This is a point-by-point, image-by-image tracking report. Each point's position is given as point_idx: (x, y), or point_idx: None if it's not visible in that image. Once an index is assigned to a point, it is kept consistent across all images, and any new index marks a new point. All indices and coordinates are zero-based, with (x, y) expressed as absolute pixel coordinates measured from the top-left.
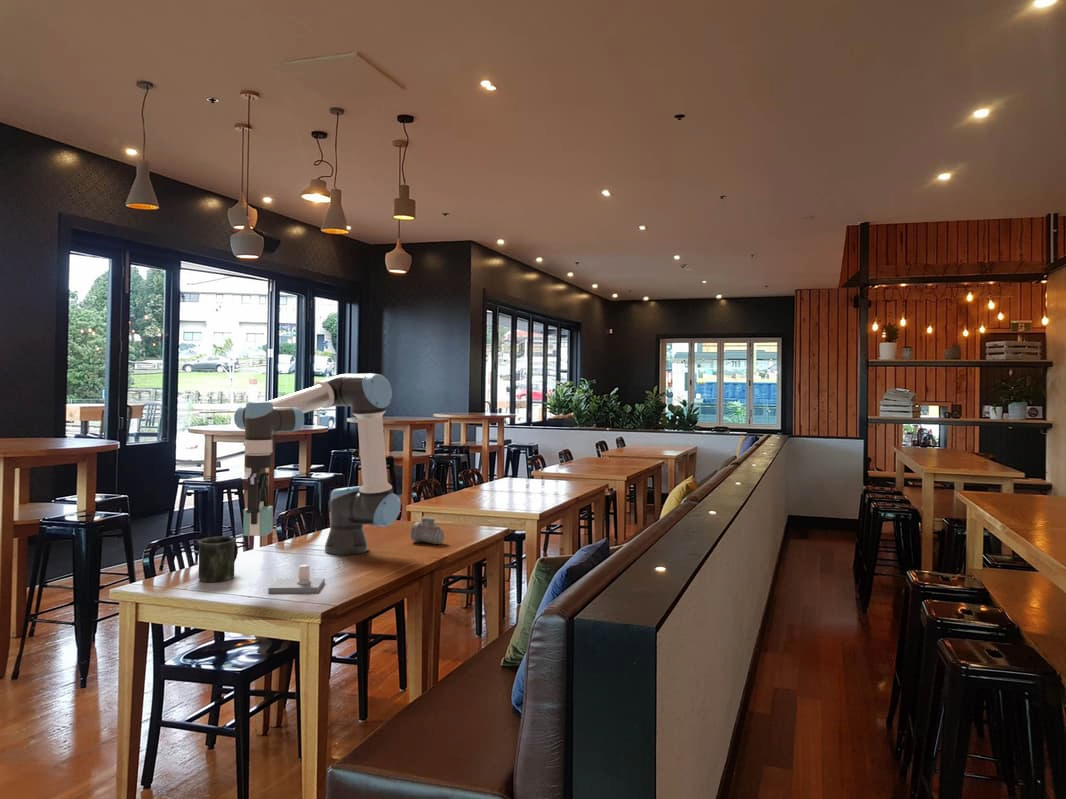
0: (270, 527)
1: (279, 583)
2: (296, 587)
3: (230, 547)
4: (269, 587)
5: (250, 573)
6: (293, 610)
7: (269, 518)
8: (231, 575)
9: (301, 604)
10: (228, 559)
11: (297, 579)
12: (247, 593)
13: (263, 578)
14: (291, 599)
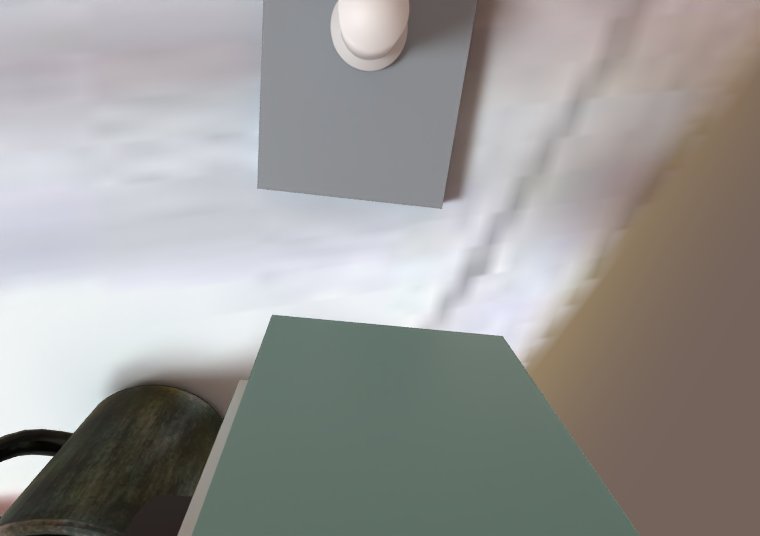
0: (369, 354)
1: (362, 165)
2: (461, 67)
3: (122, 506)
4: (434, 204)
5: (57, 330)
6: (749, 60)
7: (437, 439)
8: (174, 395)
9: (669, 28)
10: (164, 459)
11: (288, 75)
12: (421, 287)
13: (157, 260)
14: (569, 85)
